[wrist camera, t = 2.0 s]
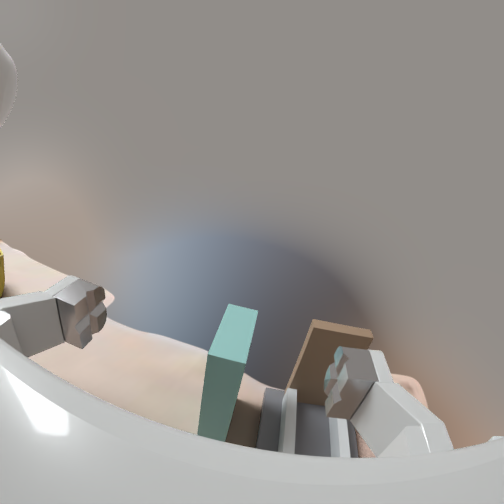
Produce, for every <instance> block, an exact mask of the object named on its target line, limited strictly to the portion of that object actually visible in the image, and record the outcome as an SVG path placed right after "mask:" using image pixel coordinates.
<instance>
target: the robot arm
mask: <svg viewBox="0 0 504 504" xmlns="http://www.w3.org/2000/svg"><path fill="white" fill-rule="evenodd" d="M17 78H18V77H17V71H16V67H15V64H14V62H13V60H12V58H11V57H10V55H9V54H8V53H7V52H6V51H5V49H4V48H3V46H2V45H1V42H0V128H1V126H2V125H3V124H4V122H5V121H6V119H7V117H8V115H9V113H10V111H11V109H12V107H13V104H14V101H15V98H16V93H17V85H18V79H17ZM104 299H105V291H104V289H103V288H102V287H101V286H99V285H96V284H93V283H91V282H88V281H85V280H83V279H80V278H77V277H75V276H70V275H69V276H67V277H65V278H64V279H62V280H61V281H59V282H58V283H56V284H55V285H53V286H52V287H50V288H49V289H47V290H46V291H44V292H41V291H39V292H33V293H28V294H22V295H17V296H11V297H6V298H1V299H0V504H504V438H500V439H497V440H493V441H490V442H486V443H483V444H478V445H474V446H469V447H465V448H460V449H453V446H452V443H451V440H450V438H449V435H448V432H447V429H446V427H445V424H444V423H443V422H442V421H441V420H440V419H439V418H438V417H436V416H435V415H434V414H432V412H431V411H429V410H428V409H427V408H426V407H425V406H424V405H422V404H421V403H420V402H419V401H418V400H417V399H415V398H414V397H413V396H412V395H411V394H410V393H408V392H407V391H406V390H405V389H404V388H403V387H401V386H400V385H399V384H398V383H394V382H393V379H392V376H391V373H390V370H389V368H388V365H387V362H386V360H385V357H384V354H383V352H381V351H377V350H364V349H357V348H349V347H342V346H339V347H338V348H337V350H336V352H335V354H334V360H335V362H334V363H332V364H331V365H329V367H328V370H327V372H326V376H325V380H324V392H325V393H326V395H327V396H328V397H327V399H326V401H325V410H326V417H330V418H339V419H349V420H350V421H351V423H352V424H353V426H354V427H355V428H356V430H357V431H358V433H359V434H360V435H361V437H362V438H363V440H364V441H365V442H366V444H367V445H368V446H369V448H370V449H371V451H372V452H373V453H374V455H375V456H376V457H377V458H341V457H322V456H309V455H299V454H290V453H282V452H275V451H268V450H262V449H256V448H251V447H246V446H241V445H236V444H231V443H227V442H223V441H218V440H214V439H210V438H207V437H203V436H199V435H196V434H192V433H189V432H185V431H182V430H179V429H176V428H173V427H170V426H167V425H164V424H161V423H158V422H155V421H152V420H150V419H147V418H144V417H142V416H139V415H137V414H134V413H132V412H129V411H127V410H124V409H122V408H120V407H117V406H115V405H113V404H111V403H109V402H106V401H104V400H102V399H100V398H98V397H96V396H94V395H92V394H90V393H88V392H86V391H84V390H82V389H80V388H78V387H76V386H74V385H72V384H71V383H69V382H67V381H65V380H63V379H62V378H60V377H58V376H56V375H55V374H53V373H51V372H50V371H48V370H46V369H45V368H43V367H42V366H40V365H38V364H37V363H35V362H34V361H32V360H31V359H29V358H28V357H30V356H32V355H35V354H37V353H40V352H42V351H45V350H47V349H50V348H52V347H54V346H57V345H59V344H62V343H64V341H65V342H67V343H69V344H72V345H74V346H76V347H78V348H81V349H83V348H84V347H85V346H86V345H87V344H88V343H89V342H90V341H91V340H92V334H94V333H97V332H99V331H100V330H101V329H102V328H103V326H104V324H105V322H106V316H107V313H106V307H105V306H104V304H103V301H104Z"/></svg>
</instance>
